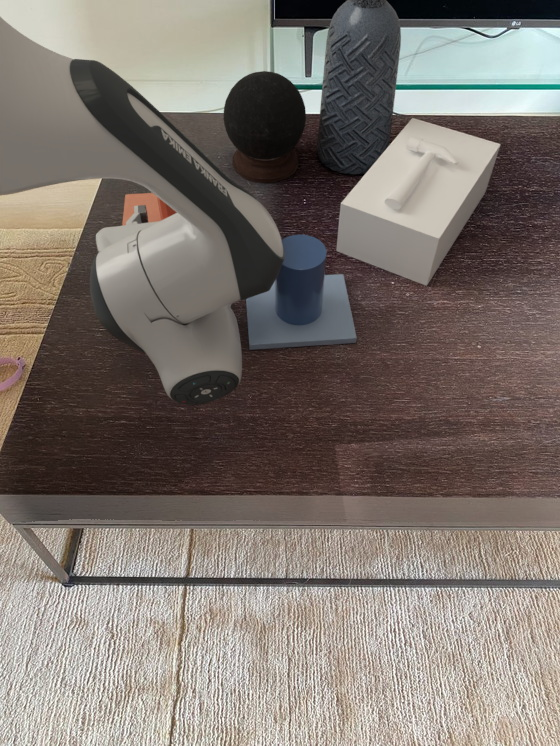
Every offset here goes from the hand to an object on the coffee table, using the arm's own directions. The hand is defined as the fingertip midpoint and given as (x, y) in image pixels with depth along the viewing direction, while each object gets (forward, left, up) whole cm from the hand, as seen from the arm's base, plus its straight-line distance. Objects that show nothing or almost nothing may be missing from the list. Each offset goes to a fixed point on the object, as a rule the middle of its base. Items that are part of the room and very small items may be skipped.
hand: (178, 205), depth 79 cm
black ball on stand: (+13, +27, -13) cm, 32 cm away
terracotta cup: (-1, +12, -12) cm, 17 cm away
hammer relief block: (+35, +10, -13) cm, 38 cm away
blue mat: (+15, -8, -13) cm, 21 cm away
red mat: (-1, +12, -13) cm, 17 cm away
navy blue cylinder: (+15, -8, -12) cm, 21 cm away
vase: (+28, +28, -13) cm, 41 cm away
